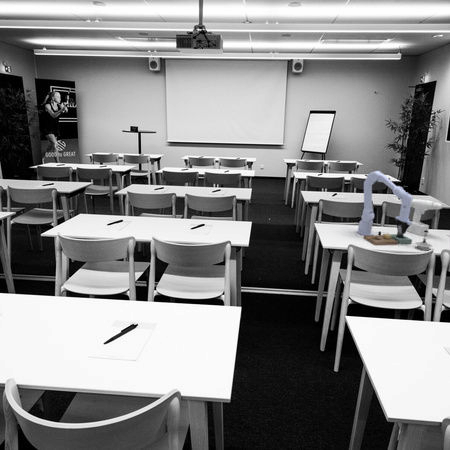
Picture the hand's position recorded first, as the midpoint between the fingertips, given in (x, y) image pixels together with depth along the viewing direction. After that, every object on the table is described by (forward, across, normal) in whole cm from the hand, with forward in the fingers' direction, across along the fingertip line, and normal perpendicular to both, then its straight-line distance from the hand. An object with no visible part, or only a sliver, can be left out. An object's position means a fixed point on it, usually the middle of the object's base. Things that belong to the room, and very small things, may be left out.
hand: (401, 232), depth 267 cm
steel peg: (+3, 0, 0) cm, 3 cm away
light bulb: (+6, -15, -6) cm, 18 cm away
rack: (+6, 0, 0) cm, 6 cm away
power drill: (+6, +15, -26) cm, 31 cm away
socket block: (+6, 0, +14) cm, 16 cm away
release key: (+6, 0, +10) cm, 12 cm away
